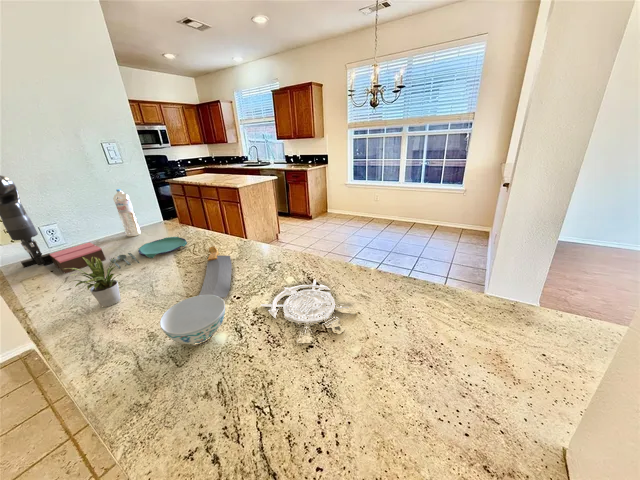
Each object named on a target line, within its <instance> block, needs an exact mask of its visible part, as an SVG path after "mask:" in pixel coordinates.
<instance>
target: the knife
mask: <svg viewBox="0 0 640 480" xmlns="http://www.w3.org/2000/svg"><path fill="white" fill-rule="evenodd" d="M49 254H51V253H46V254H42V255H41V256H42V258H43V260H44V262H45V264H42V266H44V267H45V266H49V265H52V264H54V263H53V261H52V259H51V257H50V255H49ZM20 264H21V265H22V267H23V268H24V269H26V268H30V267H32V266H35V265H37V263H36V261H35V259H34V258H29V259H26V260H22V261H20Z"/></svg>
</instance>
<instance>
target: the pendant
mask: <svg viewBox="0 0 640 480" xmlns="http://www.w3.org/2000/svg"><path fill="white" fill-rule="evenodd" d="M305 287H312V289H303V290H300V291H298V292H297V291H296V290H298V289H300V288H305ZM315 288H319V289H315ZM324 289H325V290H331V288H329V286H327V285H324V284H322V283H320V284H319V285H318V284H317V279H316V278H315V279H313V281H312V284H300V285H295V286H291V287H285V286H283V290H282V291H281V292H279V293H278V294H277V295H276V296H275V297H274V299H273V300H272V303H261V304H259V306H262V307H271V308H270V309H267V311H268V314H269V313H270V314H271V315H272V316H273V317H274V318H276V319H277V317H276V315H277V316H278V314H277V312H278V310H279V311H280V308H276V307H283V308H282V312H284V313H283V319H284V318H285V319H287V320H291V321H293V322H296V323H306V324H309V323H310V324H311V323H317V322H321V321H323V320H324V321H325V319H326V320H327V319H328V318H329V316H330V315H331V314H332V313H333V312H334V309H335V305H336V301H335V299H334V297H333V296H332V293H331V292H329V291H320V290H324ZM285 295H291V296H289V297H286V299H285V300H284V302H283V304H278V305H277V302H278V301H279V300H280V299H281V298H282V297H283V296H285ZM331 303H332V305H331ZM326 305H327V306H326ZM336 308H340V309H341V308H349V307H342V306H340V307H337V306H336ZM278 313H279V312H278ZM334 313H335V312H334ZM270 314H269V315H270ZM323 314H324V315H323ZM319 316H320V317H319ZM332 317H333V318H335V316H332ZM332 317H331V318H332ZM307 318H308V319H307ZM333 318H332V319H333ZM336 318H338V319H339V320H340V318H339V317H338V316H336ZM285 319H284V320H285ZM332 319H330V320H332ZM338 319H336V320H338ZM330 320H328V321H330ZM336 320H334V321H336ZM328 321H327V322H328ZM334 321H333V322H334ZM327 322H325V323H327ZM333 322H331V323H333ZM325 323H322V324H321V326H322V325H323V324H325ZM331 323H329V324H331ZM329 324H328V325H329ZM328 325H326V326H328ZM304 328H306V329H307V328H309V327H307V326H306V327H304ZM305 333H306V330H305Z"/></svg>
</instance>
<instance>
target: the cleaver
mask: <svg viewBox="0 0 640 480" xmlns="http://www.w3.org/2000/svg"><path fill="white" fill-rule="evenodd" d="M208 253H210V254H209V255H208V258H207V263H206V270H205V276H204V279H203V283H202V287H201V290H200V292H199V293H198V295H197V296H199V295H215V296H218V297H220V298H221V299H223V300H224V299H225V298H227V297H228V295H229V293H230V290H231V284H232V283H231V282H232V269H233V265H232V258H231V255H219V254H220V253H219V250H218V248H217V247H216V246H215V245H212V246H209V248H208Z"/></svg>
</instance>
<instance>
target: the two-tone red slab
mask: <svg viewBox="0 0 640 480" xmlns="http://www.w3.org/2000/svg"><path fill="white" fill-rule="evenodd" d="M48 254H49V253H48ZM49 255H50V257H51V259H52V261H53V263H52V264H54V266H55V267H56V268H57V269H59V270H60V271H61V272H62V273H64V274H65V275H66V274H68V273H72V272H74V271H75V270H72V269H65V268H75V269H79V270H81V269H83V268H85V267H89V266H88V265H87V263H86V261H85V260H84V259H83V258H82V257H84V258H86V259H88V260H89V261H90V262H91V258H92V257H93V260H94V263H95V262H96V259H95V258H97V260H98V258H99V259H100V260H101V261H102V262H103V261H106V260H107V258H106V257H105V254H104V251H103V249H102V247H100V246H98V245H95V244H94V243H92V242H86V243H82V244H79V245H75V246H72V247H69V248H66V249H62V250H57V251H55V252H51V253H50V254H49ZM98 261H99V260H98ZM91 264H92V263H91Z"/></svg>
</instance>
